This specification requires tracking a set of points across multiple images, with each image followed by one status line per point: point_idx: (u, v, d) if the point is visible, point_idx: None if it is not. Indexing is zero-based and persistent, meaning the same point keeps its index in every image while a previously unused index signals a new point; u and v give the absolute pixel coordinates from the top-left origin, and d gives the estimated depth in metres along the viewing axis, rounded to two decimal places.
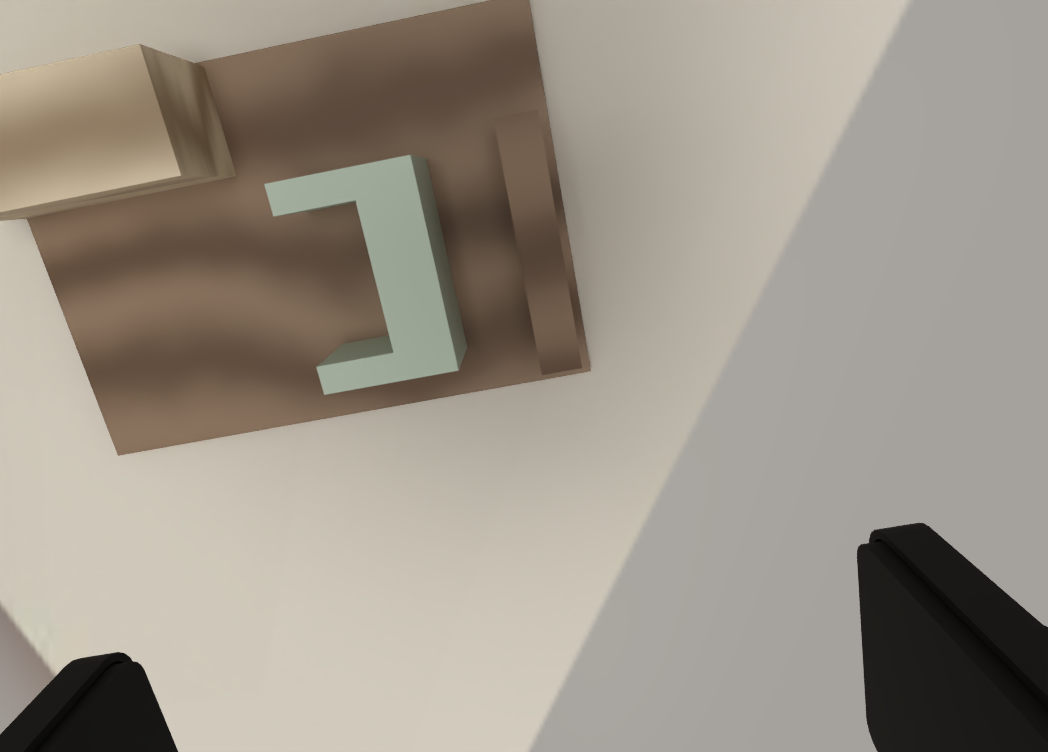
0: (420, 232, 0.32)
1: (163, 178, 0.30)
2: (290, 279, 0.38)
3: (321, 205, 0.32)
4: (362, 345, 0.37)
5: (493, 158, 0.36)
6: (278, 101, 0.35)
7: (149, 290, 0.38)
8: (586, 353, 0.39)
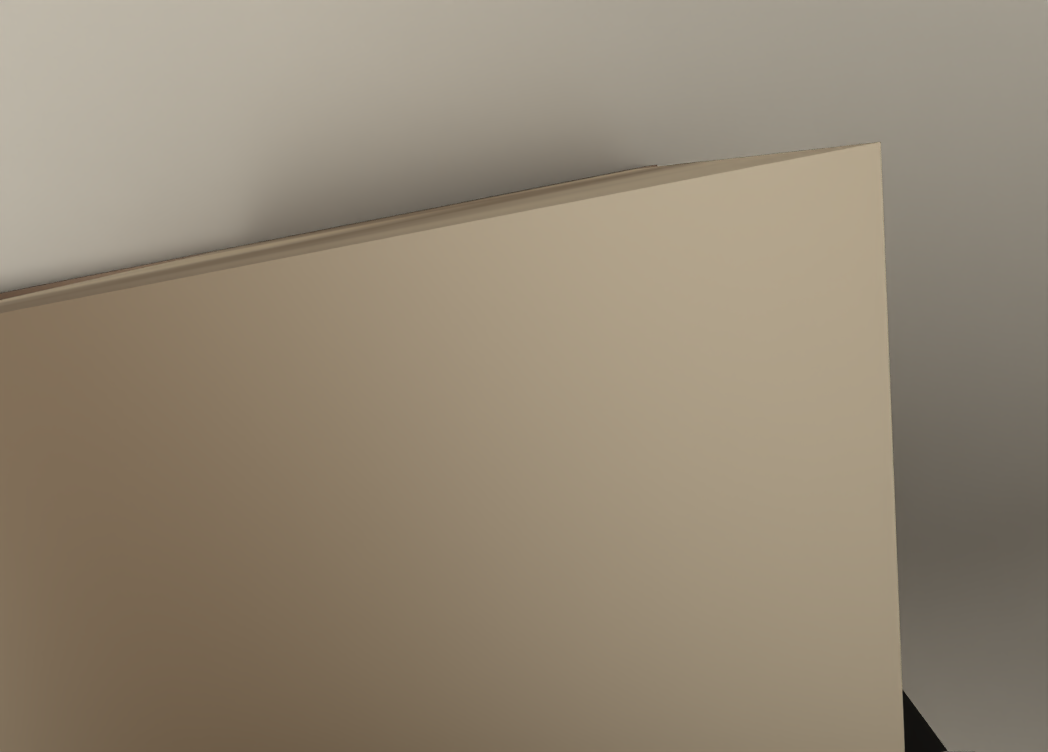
0: None
1: None
2: None
3: None
4: None
5: None
6: None
7: None
8: None
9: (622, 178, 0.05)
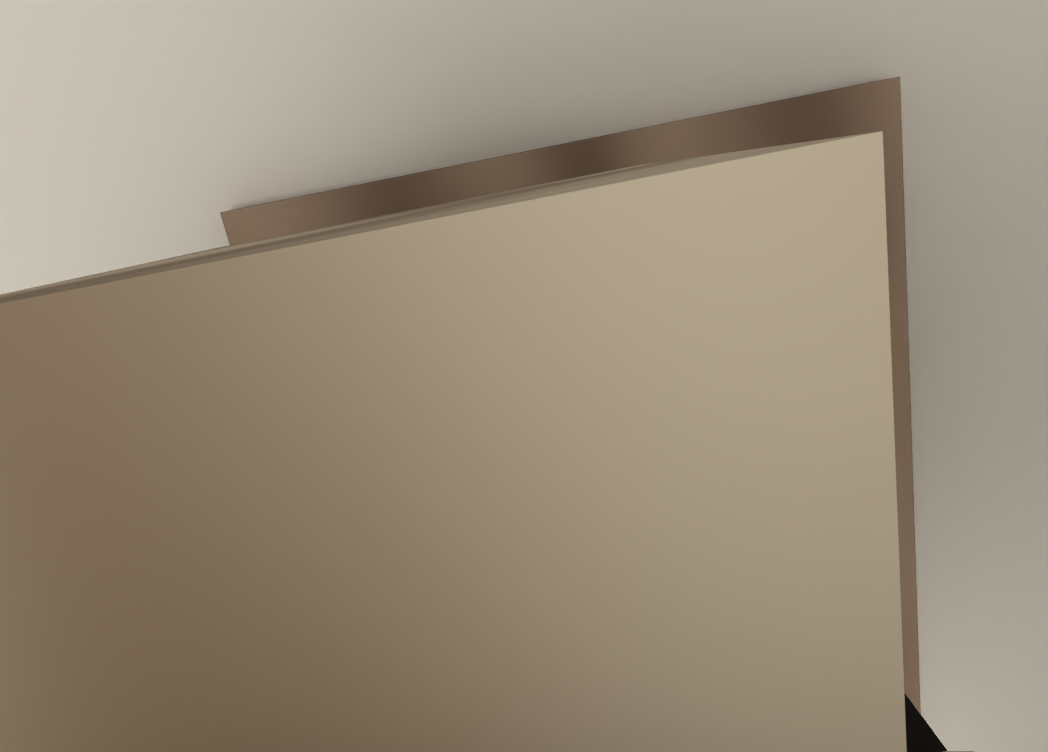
0: None
1: None
2: None
3: None
4: None
5: None
6: None
7: None
8: None
9: (622, 172, 0.05)
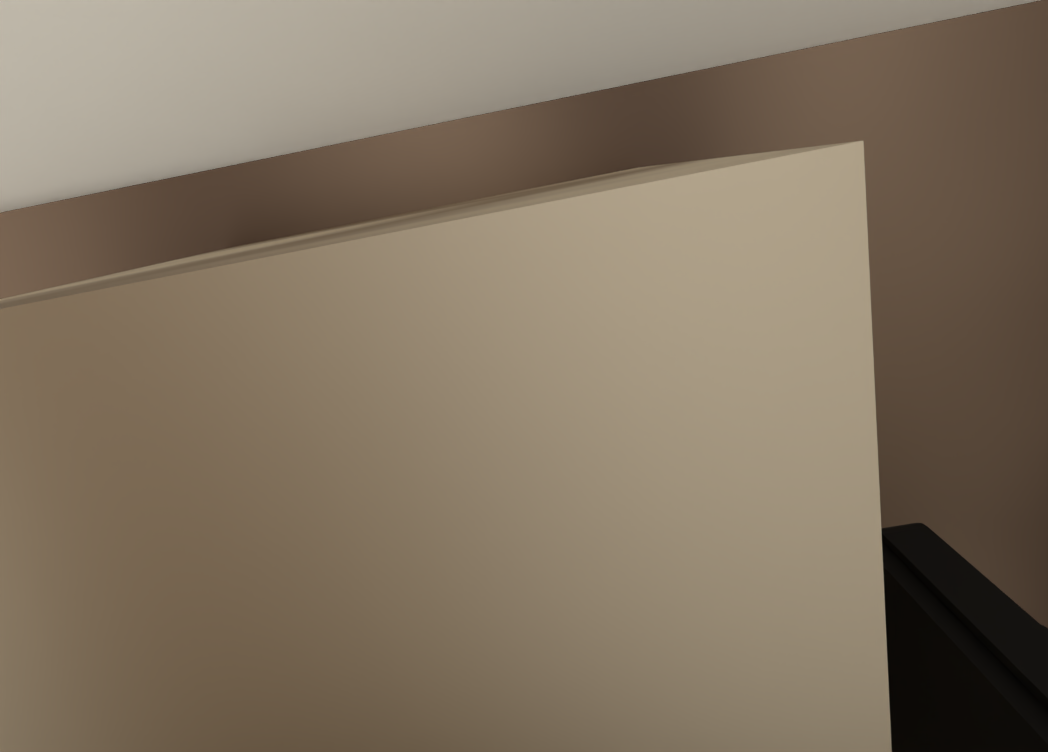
0: None
1: None
2: None
3: None
4: None
5: None
6: None
7: None
8: None
9: (626, 175, 0.05)
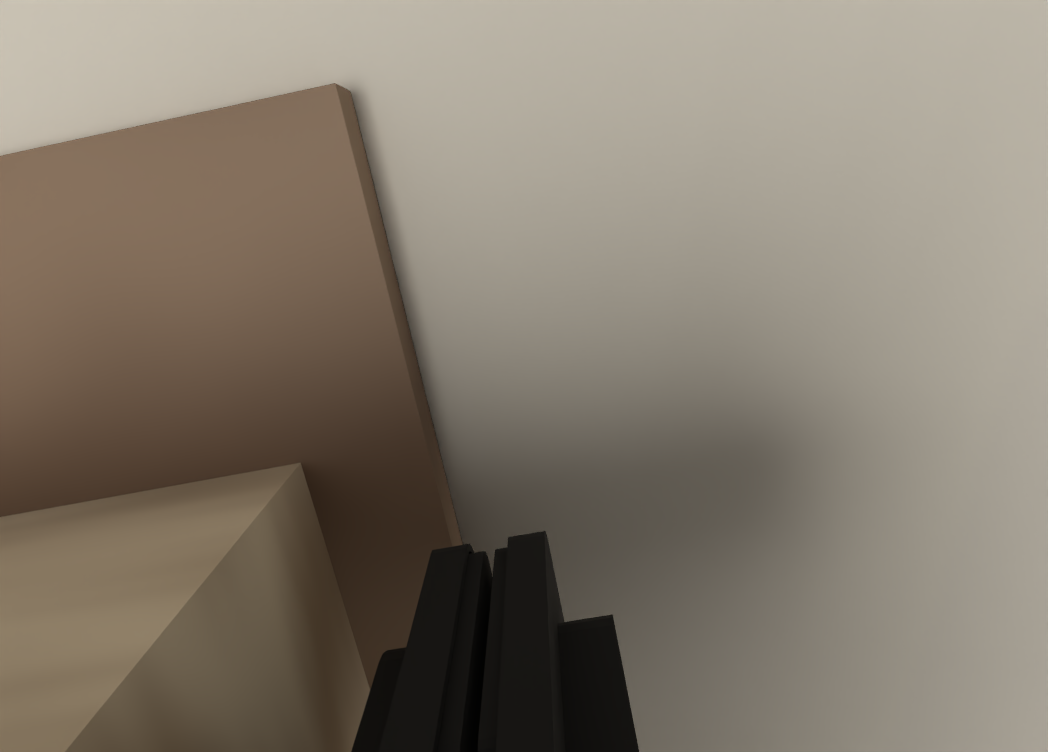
0: None
1: None
2: None
3: None
4: None
5: None
6: None
7: None
8: None
9: None
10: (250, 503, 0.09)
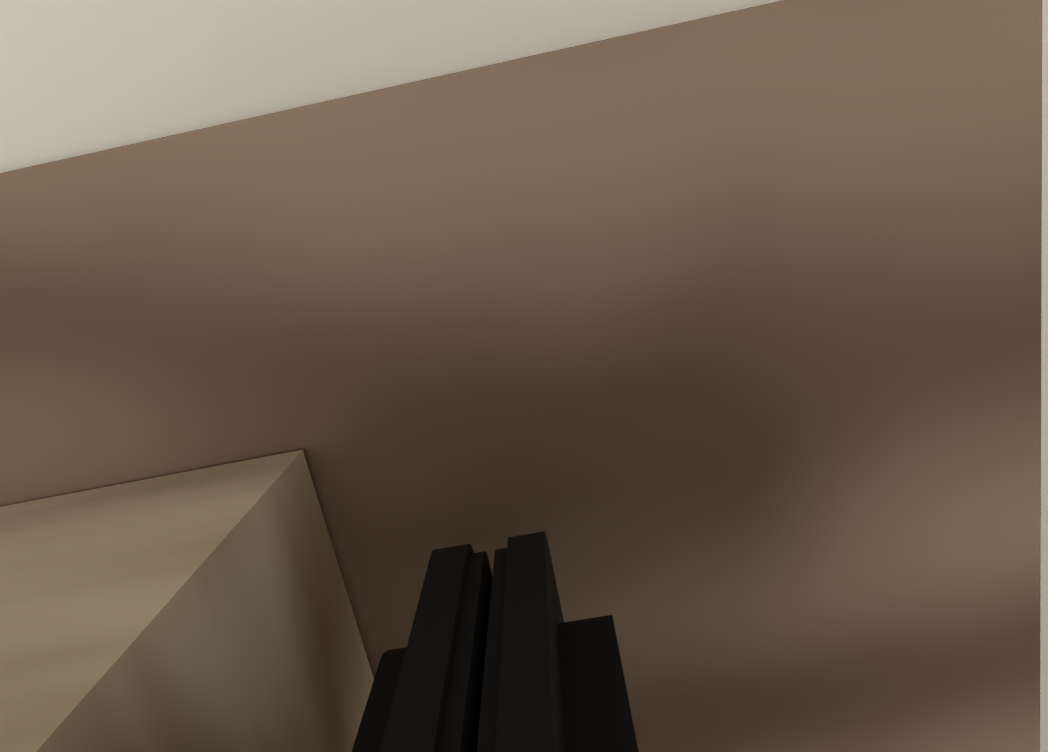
0: None
1: None
2: None
3: None
4: None
5: None
6: None
7: (720, 620, 0.11)
8: None
9: None
10: (251, 488, 0.09)
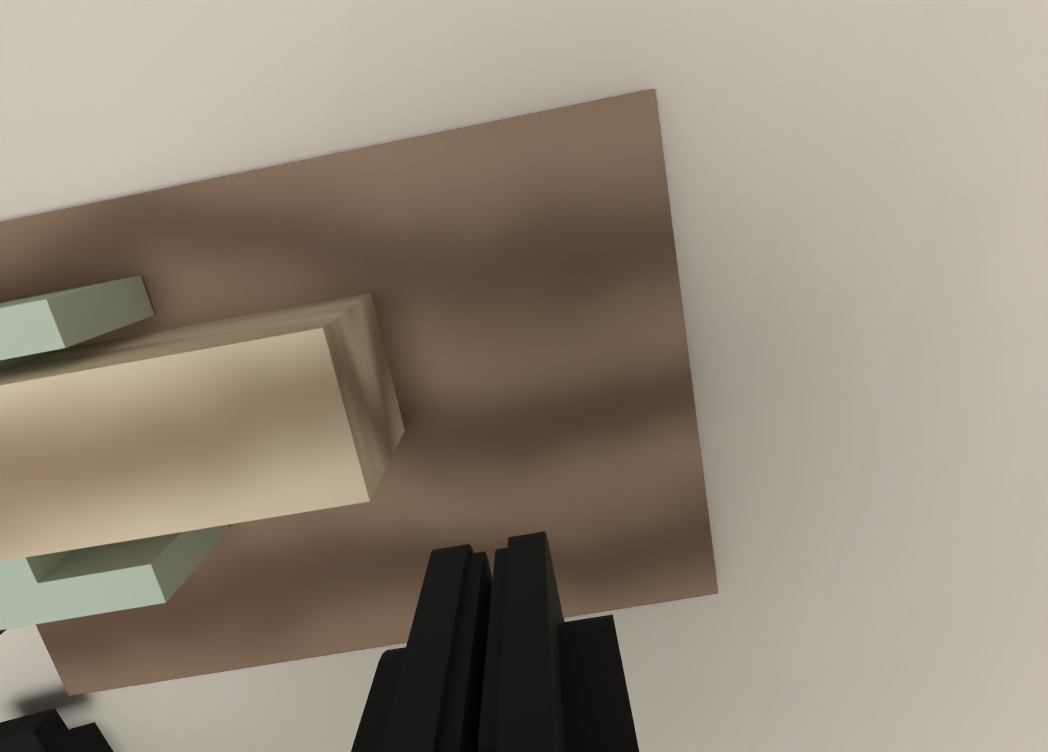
0: None
1: None
2: None
3: (84, 576, 0.22)
4: None
5: None
6: (350, 598, 0.28)
7: (548, 374, 0.26)
8: None
9: (380, 451, 0.23)
10: (354, 300, 0.24)
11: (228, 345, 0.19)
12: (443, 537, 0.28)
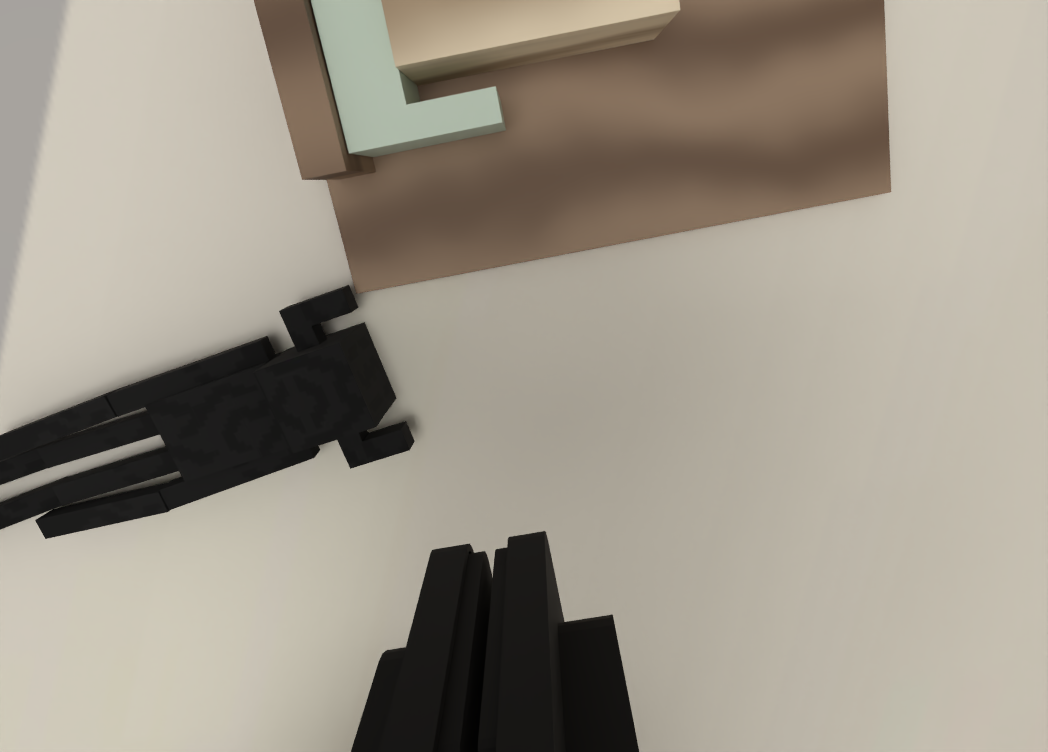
0: (335, 68, 0.29)
1: None
2: None
3: (443, 98, 0.29)
4: None
5: None
6: (595, 198, 0.35)
7: None
8: None
9: None
10: None
11: None
12: (675, 139, 0.35)
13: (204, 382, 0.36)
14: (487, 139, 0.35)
